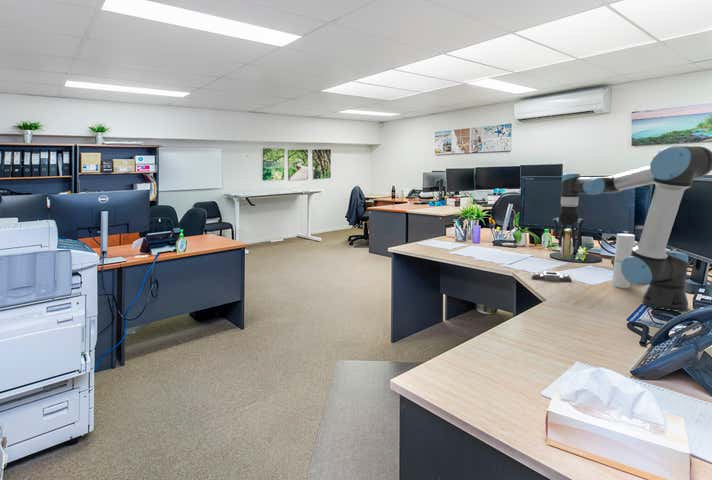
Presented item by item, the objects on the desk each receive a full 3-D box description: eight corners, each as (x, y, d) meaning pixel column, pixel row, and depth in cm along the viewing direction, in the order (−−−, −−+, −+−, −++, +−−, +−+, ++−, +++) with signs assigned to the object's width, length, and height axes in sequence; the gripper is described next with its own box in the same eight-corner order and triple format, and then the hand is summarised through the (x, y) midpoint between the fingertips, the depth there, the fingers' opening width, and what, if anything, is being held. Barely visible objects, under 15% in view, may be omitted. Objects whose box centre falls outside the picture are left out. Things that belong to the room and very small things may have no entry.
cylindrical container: (608, 284, 202) (613, 234, 197) (619, 283, 204) (624, 233, 199) (621, 288, 195) (626, 236, 190) (633, 287, 197) (638, 235, 192)
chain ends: (569, 278, 213) (570, 272, 213) (571, 282, 207) (572, 276, 206) (531, 275, 219) (532, 270, 219) (532, 279, 213) (532, 273, 212)
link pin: (572, 257, 201) (574, 229, 199) (568, 259, 199) (570, 230, 196) (563, 256, 205) (565, 228, 203) (559, 257, 202) (560, 229, 200)
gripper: (587, 205, 198) (583, 253, 202) (549, 204, 204) (547, 251, 208) (589, 206, 191) (586, 256, 195) (550, 206, 197) (548, 254, 201)
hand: (566, 253), depth 201 cm, fingers closed on link pin, 3 cm apart
